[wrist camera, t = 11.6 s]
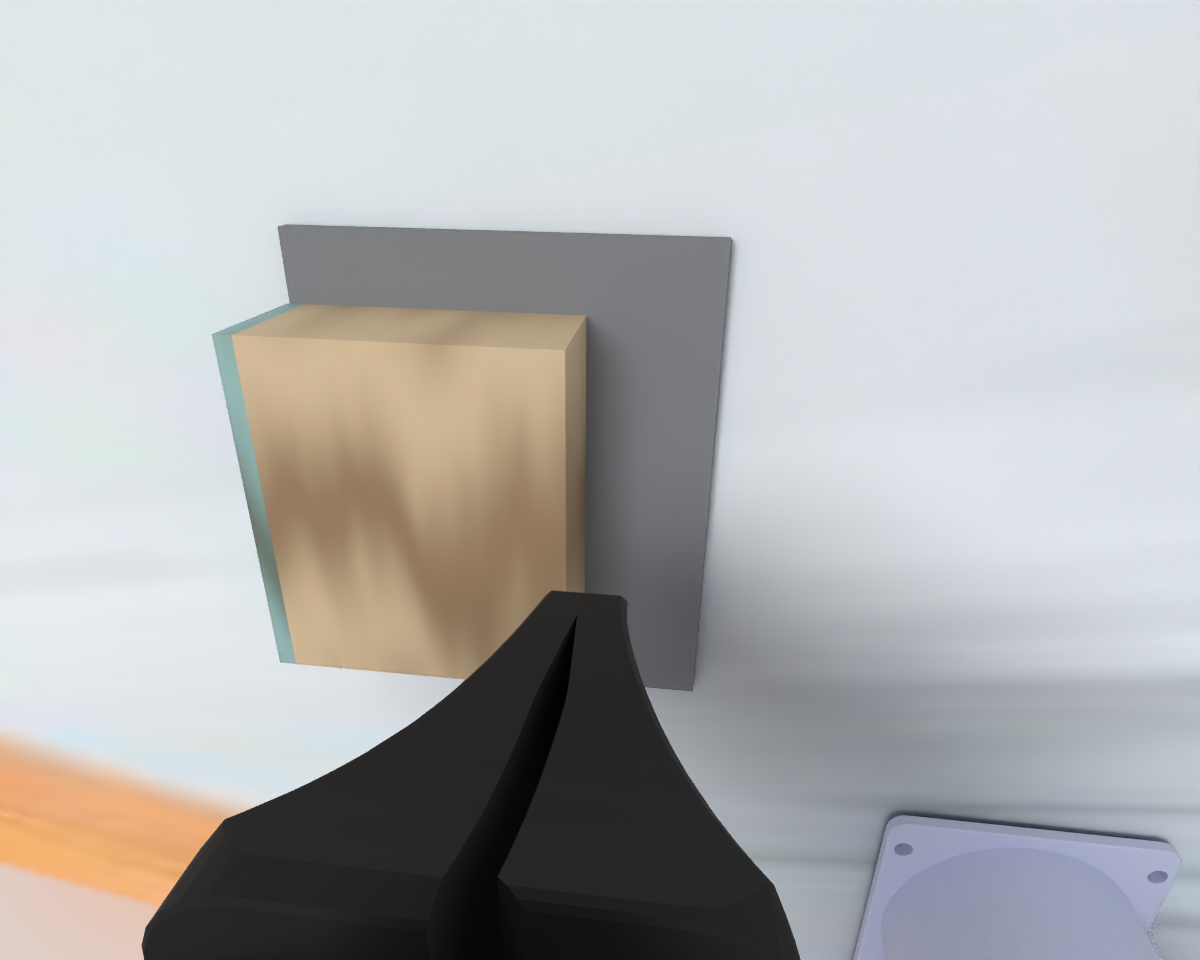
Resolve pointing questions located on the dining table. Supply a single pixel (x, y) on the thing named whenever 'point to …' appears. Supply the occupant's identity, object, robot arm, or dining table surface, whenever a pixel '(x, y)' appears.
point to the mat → (613, 382)
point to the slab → (408, 477)
